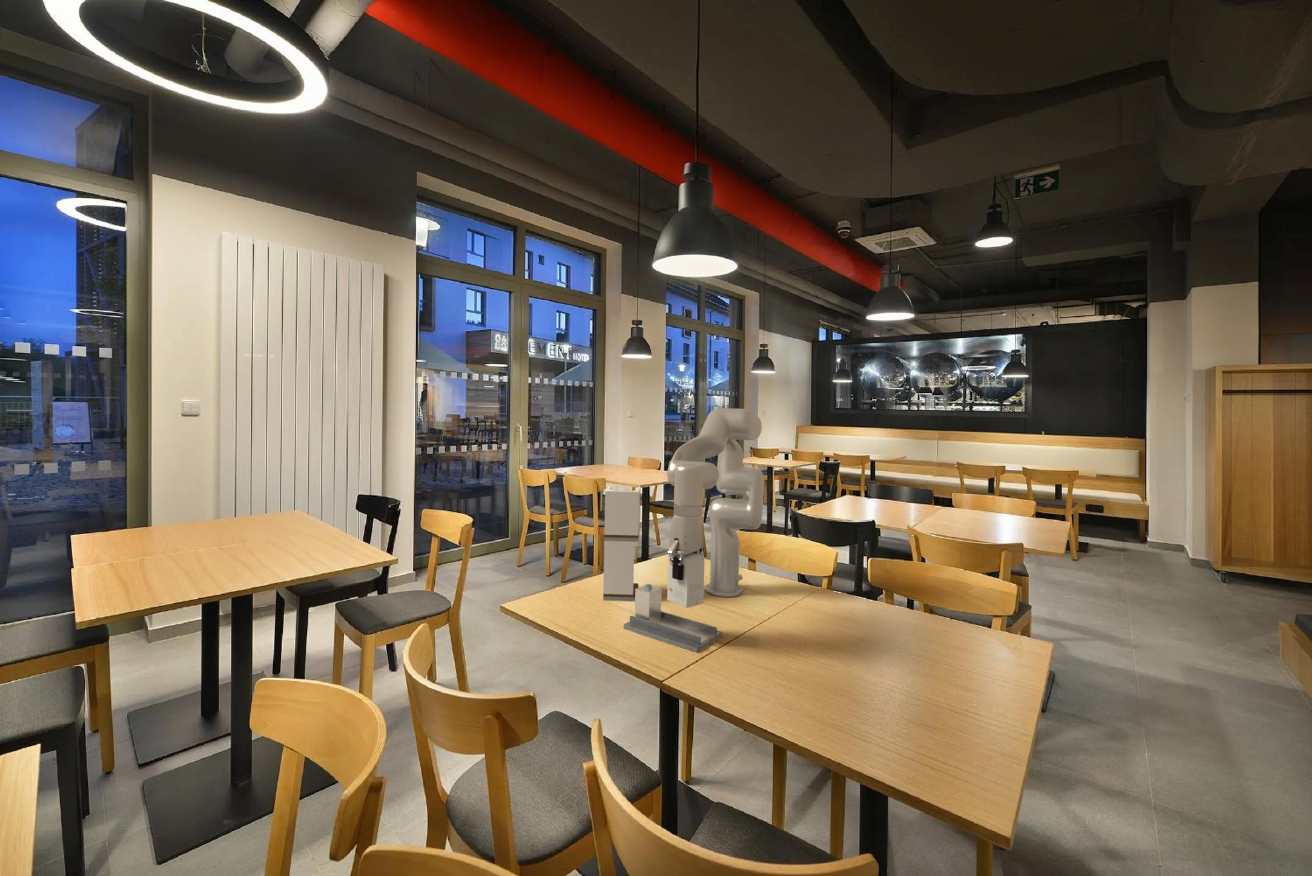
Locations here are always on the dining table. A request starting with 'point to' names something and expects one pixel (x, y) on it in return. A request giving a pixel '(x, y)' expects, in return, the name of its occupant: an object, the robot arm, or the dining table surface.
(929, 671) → the dining table surface
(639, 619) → the rail board
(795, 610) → the dining table surface
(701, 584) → the small box
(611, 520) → the tall banded cabinet
